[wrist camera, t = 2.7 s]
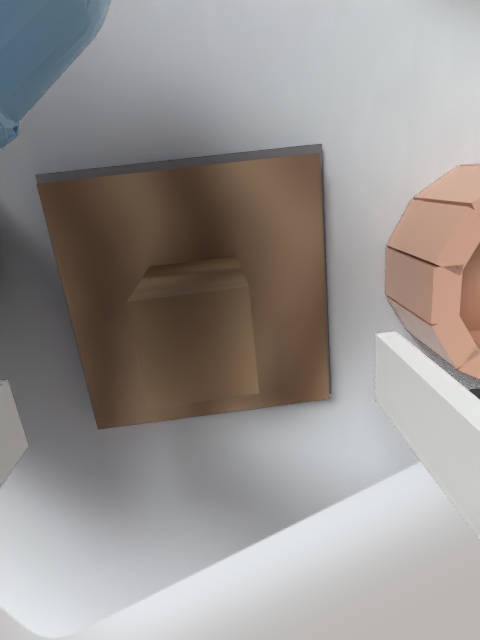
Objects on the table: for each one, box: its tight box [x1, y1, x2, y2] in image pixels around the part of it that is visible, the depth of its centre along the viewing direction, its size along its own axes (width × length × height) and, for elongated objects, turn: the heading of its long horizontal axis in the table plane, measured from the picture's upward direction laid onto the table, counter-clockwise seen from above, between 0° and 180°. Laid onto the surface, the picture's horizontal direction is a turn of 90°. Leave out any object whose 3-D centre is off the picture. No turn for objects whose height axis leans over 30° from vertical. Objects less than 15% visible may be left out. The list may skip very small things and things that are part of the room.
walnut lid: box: [37, 153, 329, 429], centre depth 22 cm, size 15×15×8 cm
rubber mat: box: [36, 144, 331, 394], centre depth 26 cm, size 16×16×1 cm
